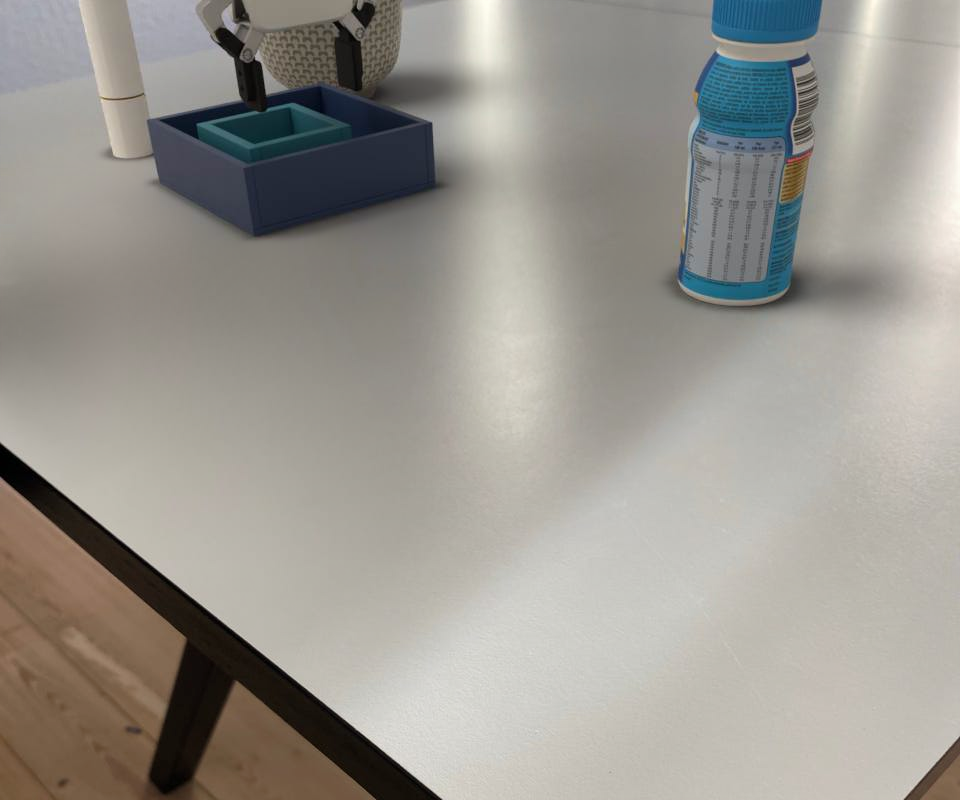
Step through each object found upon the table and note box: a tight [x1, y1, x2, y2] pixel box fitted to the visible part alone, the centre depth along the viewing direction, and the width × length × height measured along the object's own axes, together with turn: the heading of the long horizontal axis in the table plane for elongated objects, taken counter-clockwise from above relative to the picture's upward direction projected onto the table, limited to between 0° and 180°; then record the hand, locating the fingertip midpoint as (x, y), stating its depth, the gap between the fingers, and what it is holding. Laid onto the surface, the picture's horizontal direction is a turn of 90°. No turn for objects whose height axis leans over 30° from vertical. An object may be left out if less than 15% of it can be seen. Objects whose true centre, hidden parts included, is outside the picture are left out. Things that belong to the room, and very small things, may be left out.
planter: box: [258, 0, 404, 100], centre depth 121 cm, size 17×17×16 cm
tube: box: [77, 0, 154, 159], centre depth 108 cm, size 4×4×15 cm
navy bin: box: [147, 83, 437, 238], centre depth 101 cm, size 19×19×6 cm
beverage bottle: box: [677, 0, 823, 307], centre depth 76 cm, size 8×8×20 cm
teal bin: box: [197, 103, 352, 164], centre depth 100 cm, size 10×10×5 cm
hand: (304, 98), depth 99 cm, fingers open, 9 cm apart
